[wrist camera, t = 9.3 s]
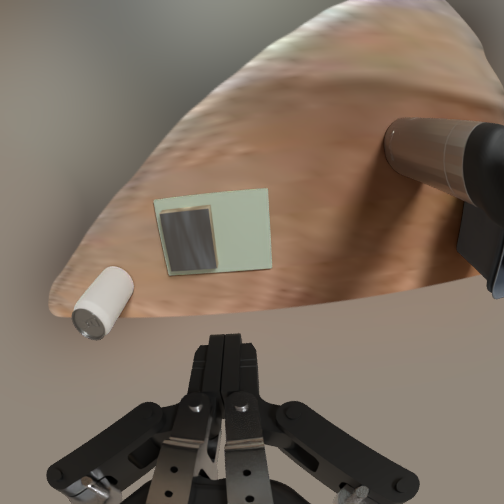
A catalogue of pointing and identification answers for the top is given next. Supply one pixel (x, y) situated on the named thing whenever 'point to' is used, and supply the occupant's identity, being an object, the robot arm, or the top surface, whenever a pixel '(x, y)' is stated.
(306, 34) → the top surface
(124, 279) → the can
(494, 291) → the storage bin
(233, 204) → the mat
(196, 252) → the tile
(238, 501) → the robot arm
